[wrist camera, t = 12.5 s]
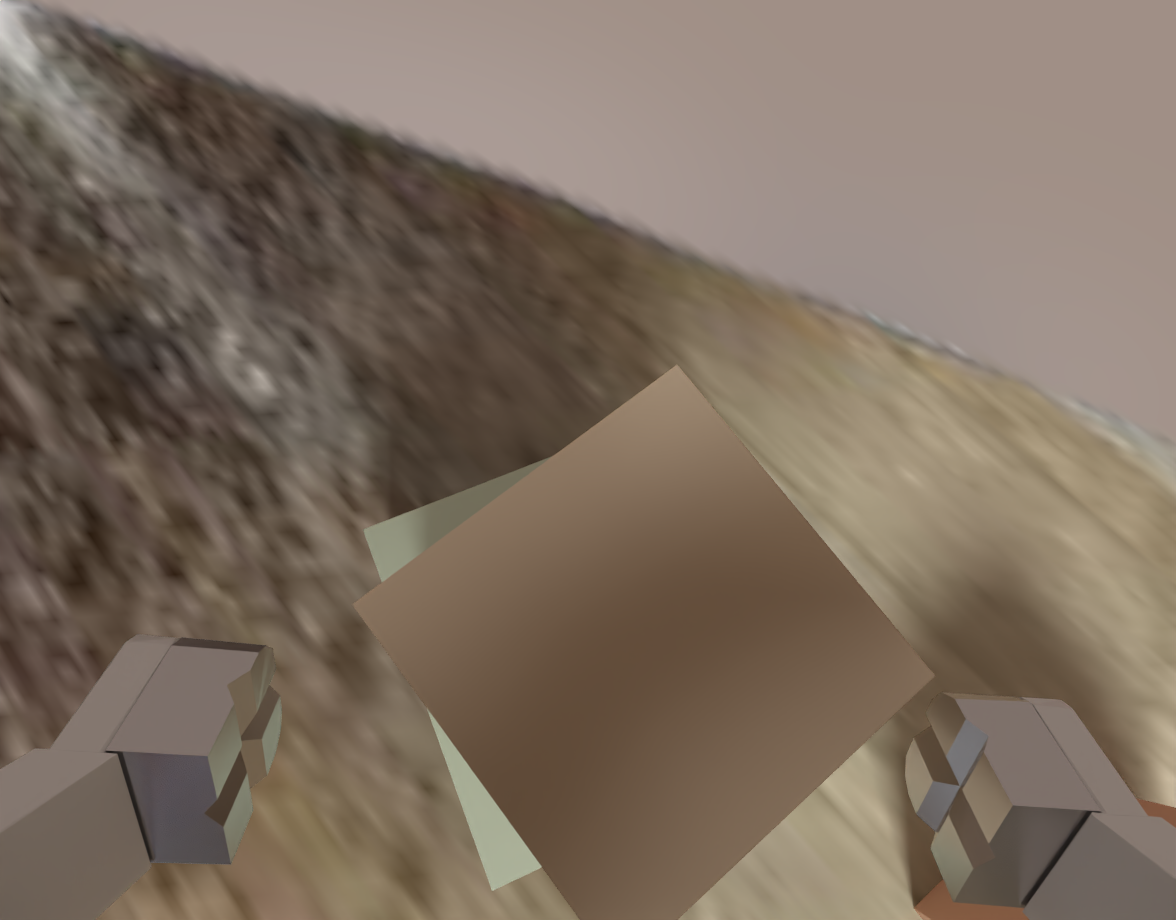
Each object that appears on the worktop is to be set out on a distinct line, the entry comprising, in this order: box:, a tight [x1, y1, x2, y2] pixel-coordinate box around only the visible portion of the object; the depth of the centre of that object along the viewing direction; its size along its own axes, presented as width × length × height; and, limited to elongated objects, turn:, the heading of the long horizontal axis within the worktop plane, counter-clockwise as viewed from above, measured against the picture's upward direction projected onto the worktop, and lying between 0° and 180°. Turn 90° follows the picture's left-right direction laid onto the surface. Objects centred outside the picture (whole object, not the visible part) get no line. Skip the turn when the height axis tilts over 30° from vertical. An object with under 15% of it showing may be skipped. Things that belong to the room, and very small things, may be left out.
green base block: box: [363, 457, 551, 891], centre depth 19 cm, size 8×8×4 cm
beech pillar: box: [352, 365, 935, 920], centre depth 13 cm, size 5×5×8 cm
